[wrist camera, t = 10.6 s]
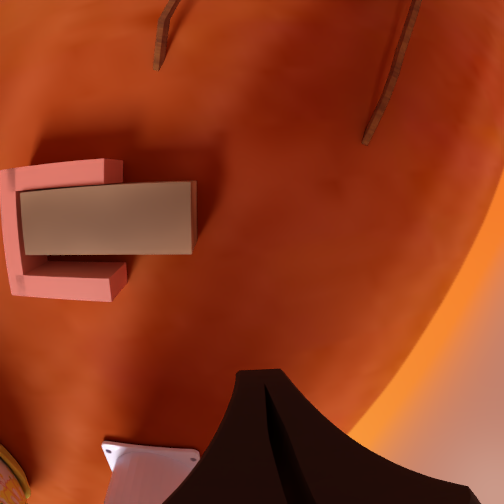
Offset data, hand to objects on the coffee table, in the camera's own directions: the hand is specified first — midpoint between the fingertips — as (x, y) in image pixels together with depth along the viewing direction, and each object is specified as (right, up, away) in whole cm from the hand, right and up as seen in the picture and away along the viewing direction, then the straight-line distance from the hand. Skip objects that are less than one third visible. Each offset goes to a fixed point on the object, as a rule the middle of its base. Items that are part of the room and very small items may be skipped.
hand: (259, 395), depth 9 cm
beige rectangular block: (-8, +7, +8) cm, 13 cm away
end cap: (-11, +6, +7) cm, 14 cm away
